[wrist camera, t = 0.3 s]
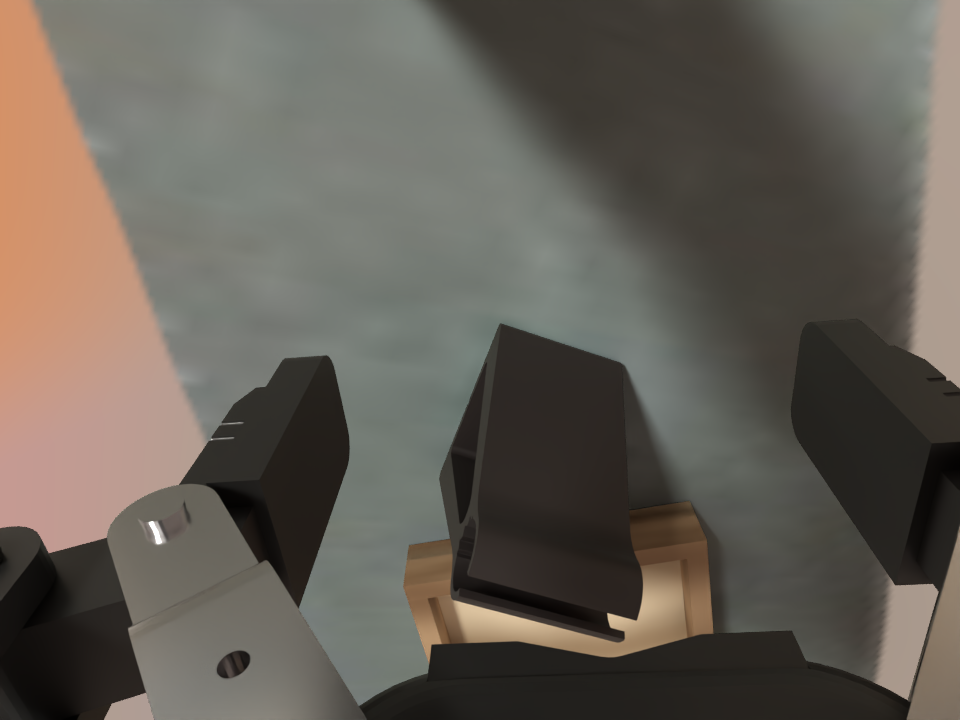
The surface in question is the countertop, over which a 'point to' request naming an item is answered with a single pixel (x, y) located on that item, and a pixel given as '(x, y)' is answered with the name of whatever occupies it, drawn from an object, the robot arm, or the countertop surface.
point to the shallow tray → (662, 618)
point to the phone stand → (543, 489)
